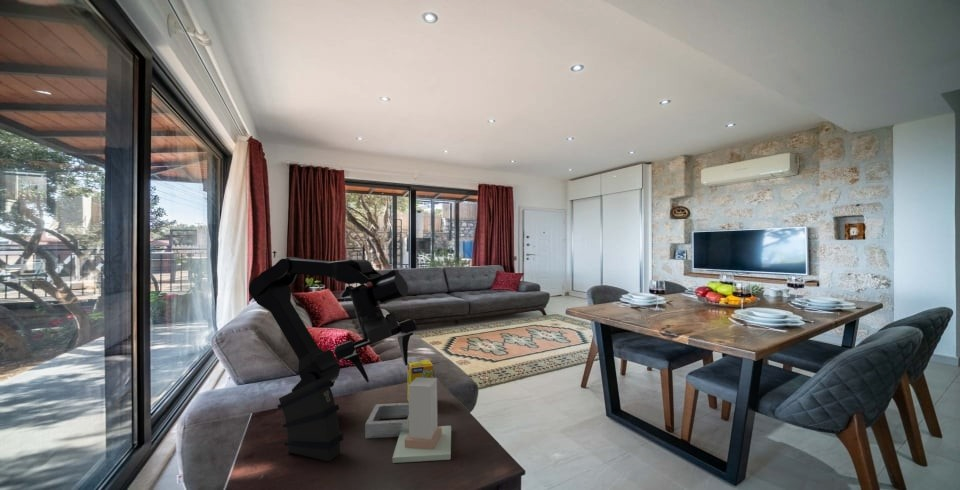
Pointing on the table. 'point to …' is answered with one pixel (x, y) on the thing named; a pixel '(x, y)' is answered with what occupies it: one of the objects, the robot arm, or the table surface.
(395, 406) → the holder collar
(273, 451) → the table surface
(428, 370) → the supplement box
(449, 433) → the sage pad
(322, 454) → the black ridged block stack
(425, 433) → the plug
